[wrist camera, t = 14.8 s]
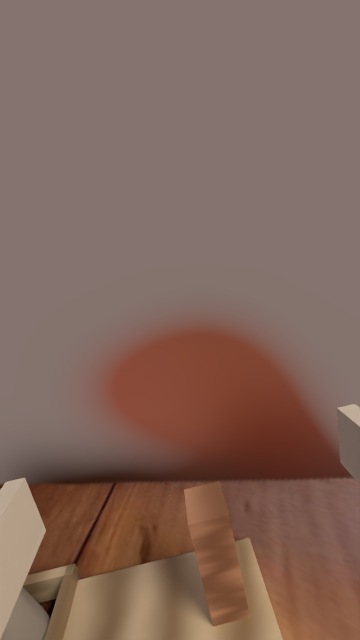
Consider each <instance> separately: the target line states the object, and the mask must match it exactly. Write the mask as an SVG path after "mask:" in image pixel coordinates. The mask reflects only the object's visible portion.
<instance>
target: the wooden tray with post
mask: <svg viewBox="0 0 360 640" xmlns="http://www.w3.org/2000/svg"><path fill="white" fill-rule="evenodd" d="M184 492H185V501H186V510H187V519H188V527H189V531H190V535H191V539H192V543H193V547H194V552H190V553H186V554H182V555H178V556H174V557H169V558H165V559H161V560H157V561H153V562H149V563H145V564H141V565H137V566H133V567H129V568H125V569H121V570H117V571H113V572H109V573H105V574H101V575H97V576H93V577H89V578H85V579H81V577H80V575H79V572H78V569H77V567H76V564H72V565H67V566H63V567H59V568H55V569H51V570H47V571H43V572H39V573H35V574H31V575H27V577H26V579H25V582H24V584H23V587H24V588H25V589H26V590H27V591H28V592H29V593H30V595H31V596H32V597H33V598H34V599H35V600H36V601H37V602H38V603H41V602H45V601H49V600H53V599H56V602H55V605H54V609H53V612H52V615H51V618H50V622H49V625H48V628H47V631H46V634H45V638H44V640H283V639H282V636H281V633H280V630H279V627H278V624H277V621H276V618H275V615H274V612H273V609H272V605H271V602H270V599H269V596H268V593H267V590H266V587H265V584H264V581H263V578H262V575H261V572H260V569H259V566H258V563H257V560H256V557H255V554H254V551H253V548H252V544H251V541H250V538H246V539H242V540H238V541H234V536H233V531H232V526H231V521H230V517H229V513H228V509H227V505H226V502H225V498H224V495H223V491H222V487H221V484H220V481H218V482H214V483H210V484H206V485H202V486H198V487H193V488H189V489H185V490H184Z"/></svg>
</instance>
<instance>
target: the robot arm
mask: <svg viewBox="0 0 360 640" xmlns="http://www.w3.org/2000/svg"><path fill="white" fill-rule="evenodd" d="M337 413H338V430H339V447H340V462H341V464H342V465H343V466H344V467H345V468H346V469H347V470H348V471H349V473H350V474H351V475H352V476H353V477H354V478H355V479H356V480H357V481H358V483H359V484H360V408H359V407H358V406H357V405H355V404H353V405H348V406H344V407H339V408H337ZM45 532H46V529H45V527H44V524H43V522H42V519H41V517H40V514H39V512H38V509H37V507H36V504H35V502H34V499H33V497H32V494H31V492H30V489H29V487H28V484H27V482H26V479H25V478H22V479H17V480H13V481H8V482H6V483H5V484H4V485H3V487H2V488H1V490H0V639H1V637H2V634H3V632H4V630H5V627H6V625H7V622H8V620H9V618H10V615H11V613H12V610H13V608H14V606H15V603H16V601H17V598H18V596H19V594H20V591H21V589H22V587H23V584H24V582H25V579H26V577H27V575H28V572H29V570H30V567H31V565H32V563H33V560H34V558H35V555H36V553H37V551H38V548H39V546H40V544H41V541H42V539H43V536H44V534H45Z"/></svg>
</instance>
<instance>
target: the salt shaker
mask: <svg viewBox="0 0 360 640" xmlns="http://www.w3.org/2000/svg"><path fill="white" fill-rule="evenodd" d="M49 622H50V618H49V615H48V614H47V612H46V611H45V610H44V608H43V607H42V606H41V605H40V604H39V603H38V602H37V601H36V600H35V599H34V598H33V597H32V596H31V595H30V593H29V592H28V591H27V590H26V589H25V588H24V587H22V589H21V591H20V594H19V596H18V598H17V601H16V603H15V606H14V608H13V610H12V613H11V615H10V618H9V620H8V622H7V625H6V627H5V630H4V632H3V634H2V637H1V639H0V640H44V638H45V634H46V631H47V628H48V625H49Z"/></svg>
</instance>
